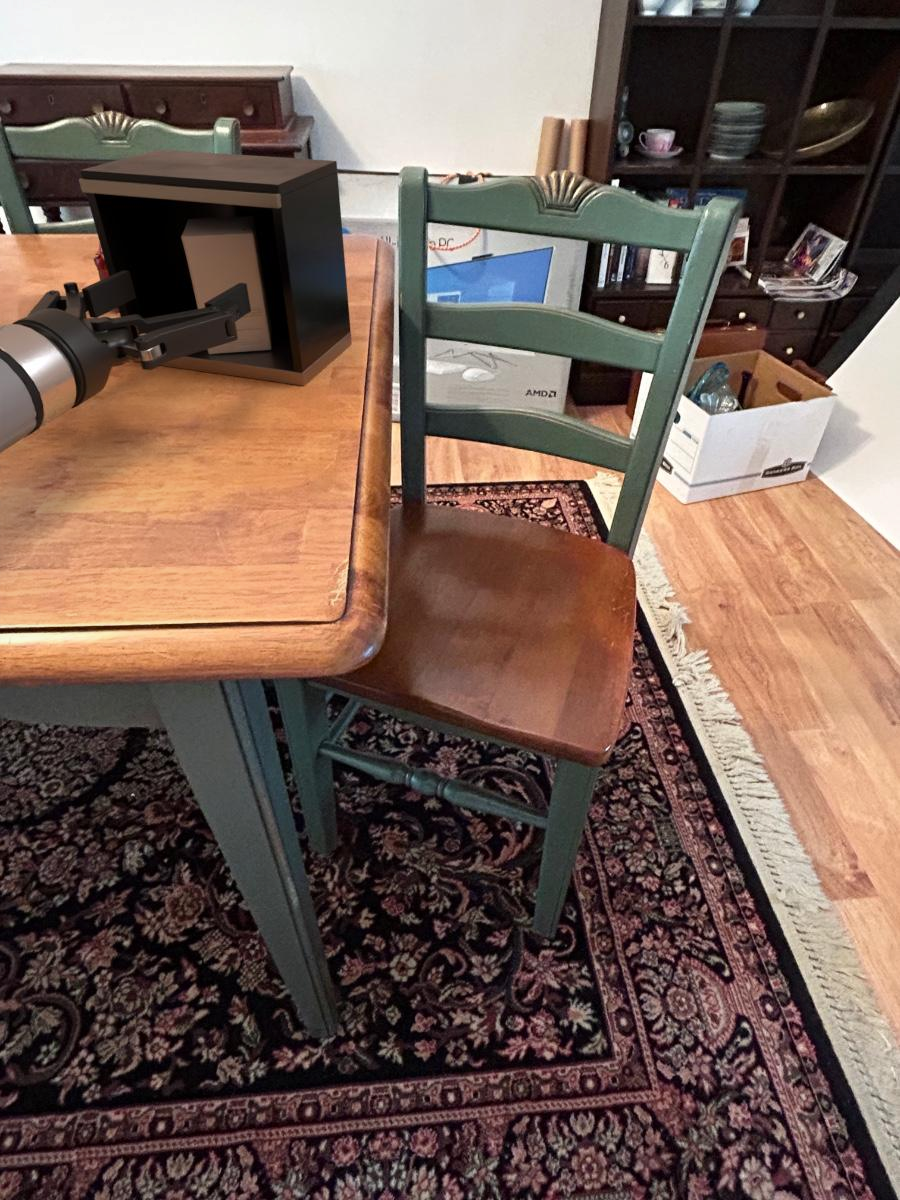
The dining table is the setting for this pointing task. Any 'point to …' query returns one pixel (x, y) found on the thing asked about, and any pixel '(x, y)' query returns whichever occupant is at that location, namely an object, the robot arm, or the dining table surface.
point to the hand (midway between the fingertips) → (186, 290)
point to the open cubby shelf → (285, 238)
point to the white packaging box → (229, 274)
